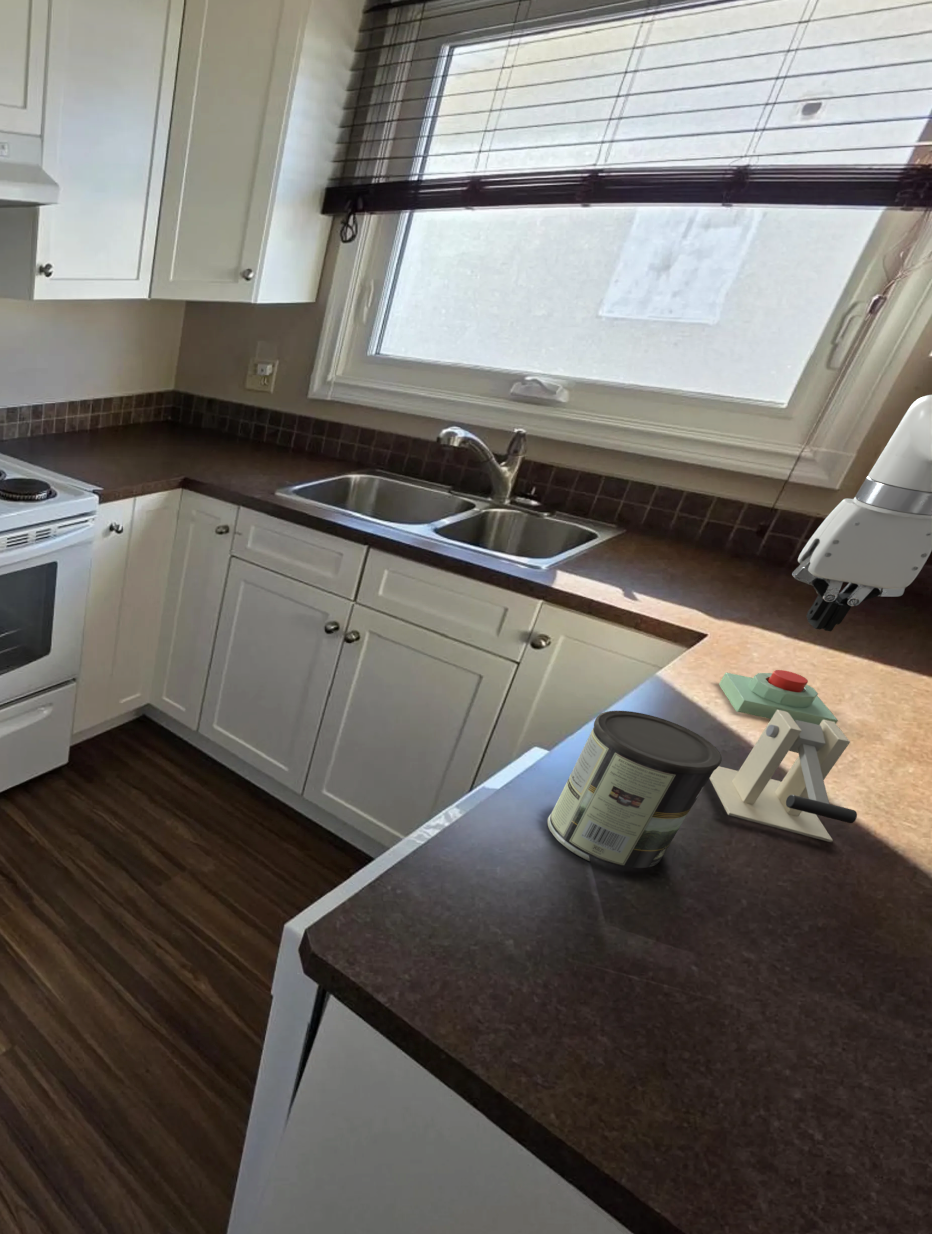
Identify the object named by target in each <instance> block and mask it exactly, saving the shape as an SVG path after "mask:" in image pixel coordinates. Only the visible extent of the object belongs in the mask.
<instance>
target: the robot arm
mask: <svg viewBox="0 0 932 1234" xmlns="http://www.w3.org/2000/svg"><path fill="white" fill-rule="evenodd" d="M931 553H932V394H927V395H924V396H922V397H919V398H917V399H916V400H915V401H913V403H911V405H910V406H909V408H908V409H907V411H906V412H905V414H904V415H903V417H902V418H901V420H900V422H899V424H898V426H897V427H896V429H895V431H894V432H893V434H892V435H891V437H890V438H889V440H888V442H887V444H886V446H885V447H884V448H883V450H882V451H881V453H880V455H879V457H878V458H877V460H876V462H875V463H874V465H873V467H872V468H871V470H870V471H869V473H868V475H867V476H866V478H865V479H864V481H863V482H862V484H861V485H860V487H859V489H858V491H857V492H856V494H855V496H854V497H853V498H849V497H848V498H843V499H842V500H841V501H840V502H839V503H838V504H837V505H836V506H835V507H834V509H833V510H831V512H830V513H829V514H828V515H827V516H826V517H825V519H824V520H823V521H822V522H821V524H820V525H819V526H818V527H817V529H816V530H815V531H814V533H813V534H812V535H811V537H810V538H809V539H808V541H807V542H806V544H805V545H804V547H803V548H802V550H801V552H800V553H799V555H798V558H797V562H798V563H799V565H798V566H797V567H796V568H795V569H794V570H793V571H792V572H791V576H792V577H793V578H794V580H797V581H799V582H802V583H804V584H807V585H810V586H812V587H813V589H814V590H815V592H816V594H817V597H816V598H815V600H814V602H813V603H812V605H811V607H810V608H809V610H808V611H807V613H806V618H807V622H808V624H810V626H811V627H812V628H813V629H816V630H823V631H826V632H832V631H833V630H834V628H835V627H836V626H839V625H841V623H842V622H843V620H844V619H845V617H846V616H847V614H848V613H849V611H850V610H851V608H852V607H856V606H859V605H860V604H861V603H862V602H865V601H868V600H870V599H873V598H877V597H881V598H883V597H887V598H888V597H891V598H892V597H898V598H899V597H901V596H903V595H904V593H905V589H906V588H907V587H908V586H910V585H911V584H913V582H914V581H915V579H916V578H917V577H918V575H919V574H920V572H921V570H923V568H924V565H925V564H926V563H927V560H928V559H929V557H930V555H931ZM843 583H847V584H846V586H845V587H843V589H842V590H841V588H842V586H843Z"/></svg>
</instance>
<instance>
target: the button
mask: <svg viewBox="0 0 932 1234" xmlns="http://www.w3.org/2000/svg"><path fill="white" fill-rule="evenodd" d="M771 673H772V675H771V677H770V678H769V680H768V683H770V684H772V685H773V686H775V687H778V688H781V689H784V690H787V691H792V692H802V691H803V689H804V687H805V686H806V684H807V685H808V683H809V680H808V679H807V677H805V676H803V675H801V674H798V673H796V672H793V671H789V670H784V669H783V670H782V669H775V670H773V672H771Z"/></svg>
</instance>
